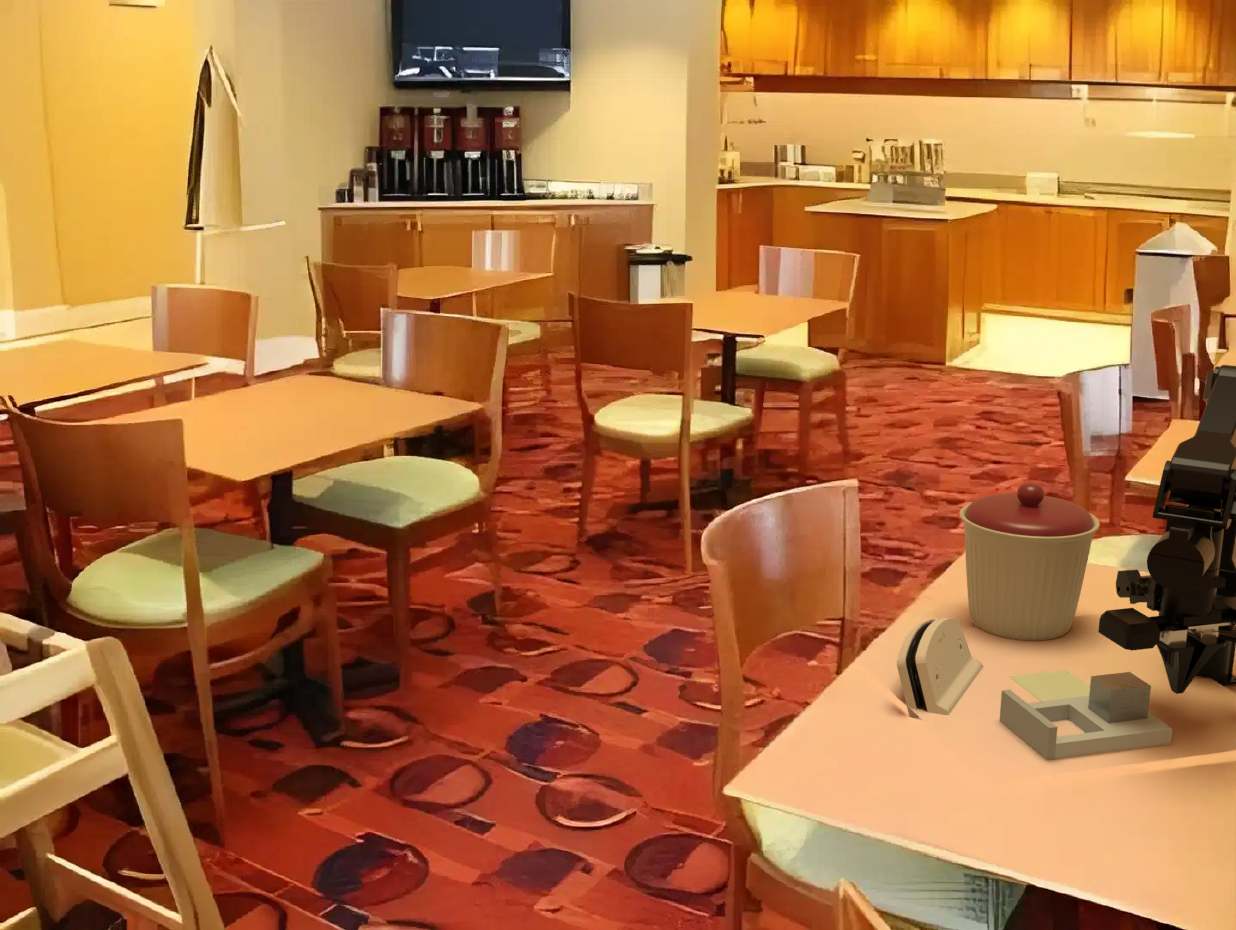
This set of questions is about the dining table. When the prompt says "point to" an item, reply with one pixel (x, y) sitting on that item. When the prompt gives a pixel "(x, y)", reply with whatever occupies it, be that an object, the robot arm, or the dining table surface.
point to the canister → (1025, 562)
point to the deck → (1099, 737)
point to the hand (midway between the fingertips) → (1176, 692)
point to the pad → (1052, 685)
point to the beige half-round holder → (936, 666)
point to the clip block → (1119, 697)
